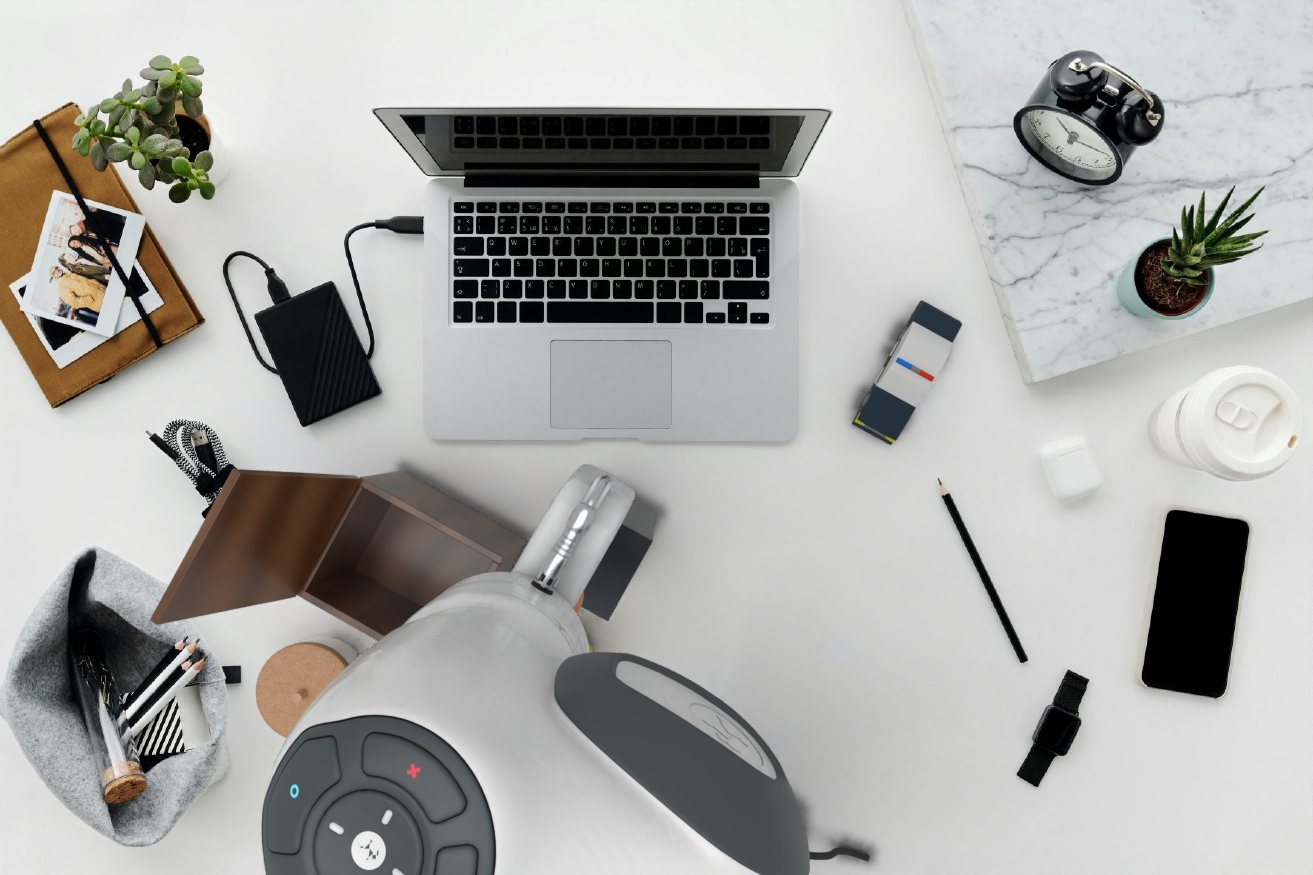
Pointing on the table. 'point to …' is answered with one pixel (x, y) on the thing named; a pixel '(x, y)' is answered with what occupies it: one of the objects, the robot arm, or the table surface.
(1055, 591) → the table surface
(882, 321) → the table surface
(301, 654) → the trinket box
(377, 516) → the chest
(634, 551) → the stand
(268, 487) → the chest lid
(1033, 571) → the table surface
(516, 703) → the robot arm
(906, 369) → the toy car
